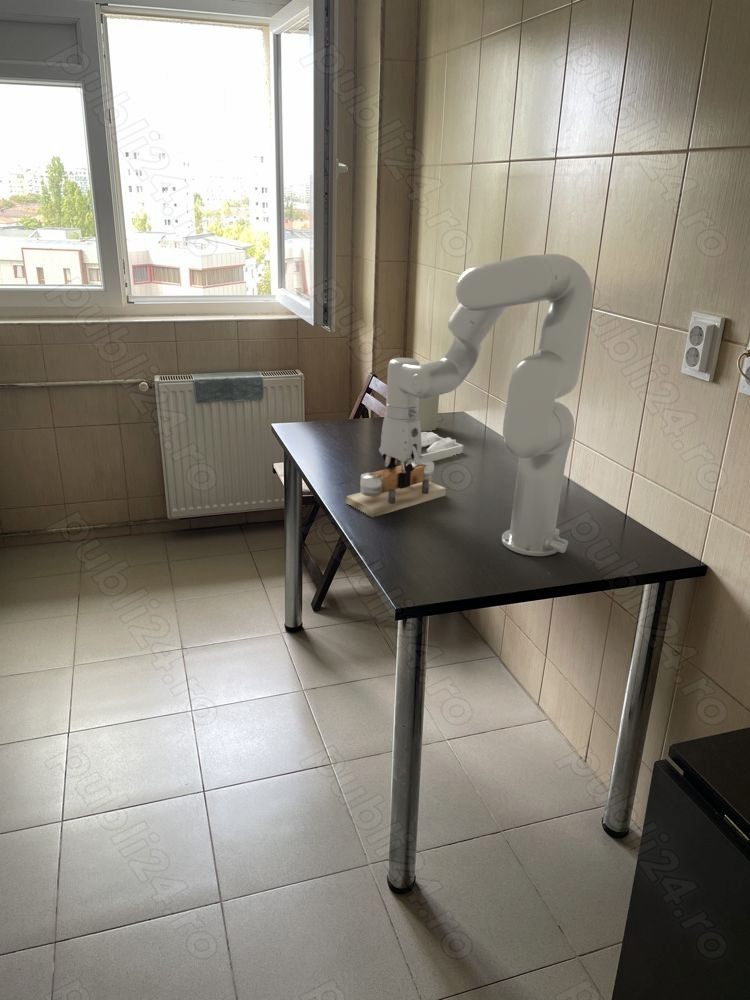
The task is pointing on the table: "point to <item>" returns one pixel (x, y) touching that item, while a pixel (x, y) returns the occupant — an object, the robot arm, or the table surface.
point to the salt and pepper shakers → (435, 442)
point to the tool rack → (396, 498)
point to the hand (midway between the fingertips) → (397, 483)
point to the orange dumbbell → (393, 478)
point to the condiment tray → (442, 451)
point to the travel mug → (428, 413)
